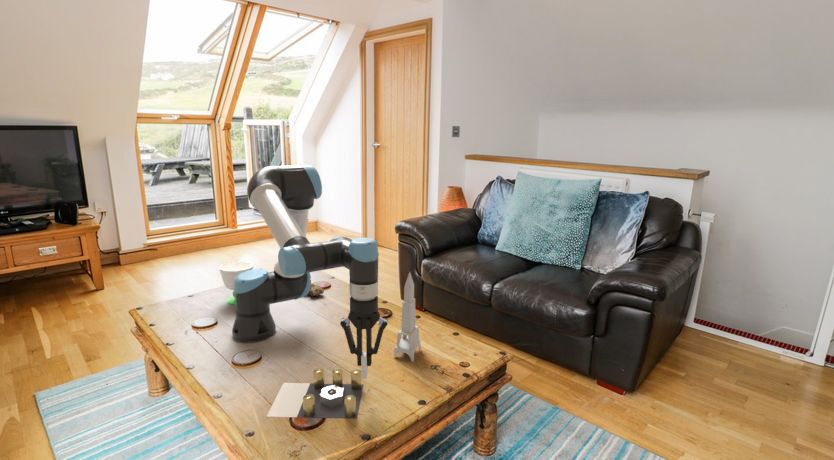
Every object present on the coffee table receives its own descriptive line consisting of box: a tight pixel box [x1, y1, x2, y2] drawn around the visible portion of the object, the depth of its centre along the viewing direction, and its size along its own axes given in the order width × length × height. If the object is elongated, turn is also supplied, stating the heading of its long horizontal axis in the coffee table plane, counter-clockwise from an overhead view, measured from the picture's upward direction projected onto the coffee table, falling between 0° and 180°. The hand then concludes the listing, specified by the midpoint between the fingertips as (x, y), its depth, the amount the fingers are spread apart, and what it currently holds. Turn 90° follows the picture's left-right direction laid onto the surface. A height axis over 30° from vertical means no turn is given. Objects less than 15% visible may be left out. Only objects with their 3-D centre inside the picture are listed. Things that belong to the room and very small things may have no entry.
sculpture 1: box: [306, 282, 325, 296], centre depth 205 cm, size 8×19×5 cm, turn 71°
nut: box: [320, 385, 344, 407], centre depth 128 cm, size 7×6×3 cm
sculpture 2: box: [393, 271, 422, 363], centre depth 152 cm, size 7×8×30 cm
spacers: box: [303, 368, 362, 419], centre depth 128 cm, size 14×16×5 cm
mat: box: [266, 382, 364, 419], centre depth 128 cm, size 24×16×1 cm, turn 90°
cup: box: [218, 260, 254, 306], centre depth 195 cm, size 14×14×16 cm
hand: (364, 375), depth 126 cm, fingers closed
